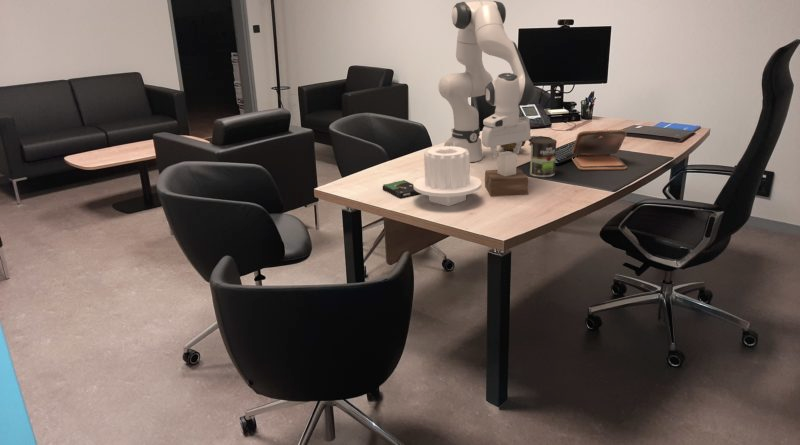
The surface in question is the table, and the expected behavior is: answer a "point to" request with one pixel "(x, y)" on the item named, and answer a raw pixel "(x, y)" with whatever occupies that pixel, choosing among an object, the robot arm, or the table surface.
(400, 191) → the disk drive
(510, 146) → the teapot
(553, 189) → the table surface
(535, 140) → the coffee can
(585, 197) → the table surface
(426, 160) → the ribbed cylinder on disc
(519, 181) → the walnut box
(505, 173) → the white block
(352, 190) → the table surface
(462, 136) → the robot arm
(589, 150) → the case
